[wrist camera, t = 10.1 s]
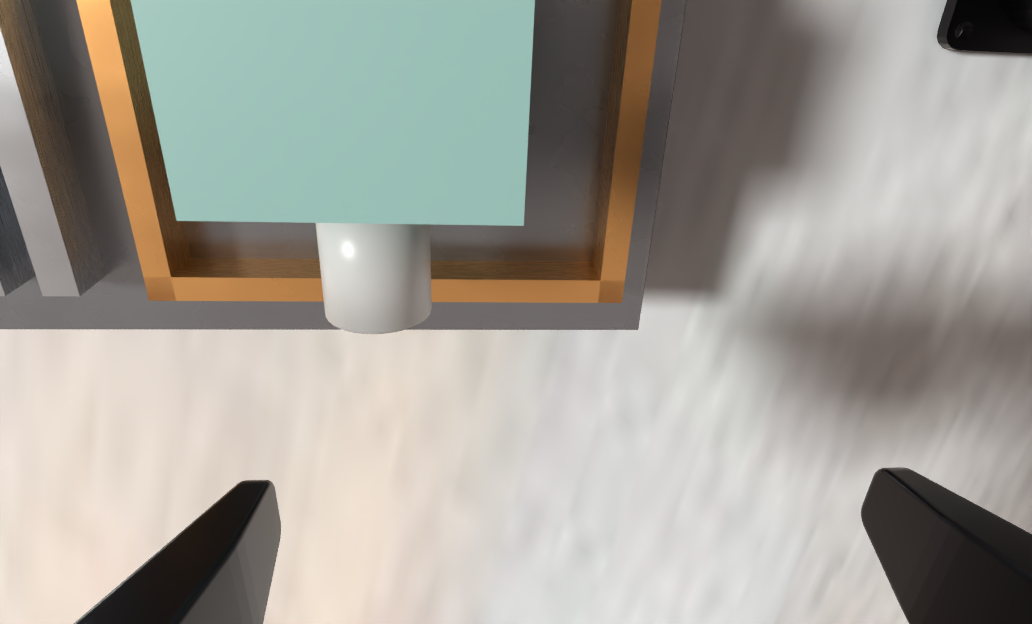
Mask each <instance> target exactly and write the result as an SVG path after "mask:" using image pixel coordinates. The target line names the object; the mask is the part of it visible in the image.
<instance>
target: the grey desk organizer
mask: <svg viewBox="0 0 1032 624" xmlns="http://www.w3.org/2000/svg"><path fill="white" fill-rule="evenodd" d="M685 7H686V0H535V8H534V28H533V49H532V69H531V89H530V109H529V130H528V150H527V170H526V191H525V211H524V226H502V225H433V224H430V252H431V300H432V310H431V313H430V315H429V316H428V317H427V318H426V319H425V320H424V321H423V322H421V323H420V324H418V325H416V326H414V327H411V328H408V329H430V330H638V326H639V320H640V313H641V306H642V299H643V293H644V286H645V279H646V272H647V265H648V259H649V252H650V245H651V238H652V231H653V225H654V218H655V211H656V204H657V197H658V191H659V184H660V177H661V170H662V163H663V157H664V150H665V143H666V136H667V129H668V123H669V116H670V109H671V102H672V95H673V89H674V82H675V75H676V68H677V62H678V55H679V48H680V41H681V34H682V28H683V21H684V14H685ZM0 329H340V328H338V327H336V326H334V325H332V324H331V323H330V322H329V321H328V320H327V318H326V316H325V308H324V298H323V289H322V280H321V270H320V261H319V251H318V242H317V232H316V223H294V222H224V221H177V220H176V216H175V211H174V206H173V201H172V197H171V192H170V187H169V182H168V177H167V173H166V168H165V163H164V158H163V154H162V149H161V144H160V139H159V134H158V130H157V125H156V120H155V115H154V111H153V106H152V101H151V96H150V91H149V87H148V82H147V77H146V72H145V67H144V63H143V58H142V53H141V48H140V44H139V39H138V34H137V29H136V24H135V20H134V15H133V10H132V5H131V1H130V0H0Z"/></svg>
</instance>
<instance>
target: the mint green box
mask: <svg viewBox="0 0 1032 624" xmlns="http://www.w3.org/2000/svg"><path fill="white" fill-rule="evenodd" d="M130 1H131V5H132V10H133V15H134V20H135V24H136V29H137V34H138V39H139V44H140V48H141V53H142V58H143V63H144V67H145V72H146V77H147V82H148V87H149V91H150V96H151V101H152V106H153V111H154V115H155V120H156V125H157V130H158V134H159V139H160V144H161V149H162V154H163V158H164V163H165V168H166V173H167V177H168V182H169V187H170V192H171V197H172V201H173V206H174V211H175V216H176V220H177V221H224V222H294V223H316V232H317V242H318V251H319V261H320V270H321V280H322V289H323V298H324V308H325V316H326V318H327V320H328V321H329V322H330V323H331V324H332V325H334V326H336V327H338V328H340V329H343V330H345V331H349V332H354V333H362V334H384V333H392V332H397V331H402V330H405V329H408V328H411V327H414V326H416V325H418V324H420V323H421V322H423V321H424V320H425V319H426V318H427V317H428V316H429V315H430V313H431V310H432V300H431V252H430V224H433V225H502V226H524V211H525V191H526V170H527V150H528V130H529V109H530V89H531V69H532V49H533V28H534V8H535V0H130Z"/></svg>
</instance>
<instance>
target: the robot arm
mask: <svg viewBox="0 0 1032 624" xmlns="http://www.w3.org/2000/svg"><path fill="white" fill-rule="evenodd" d="M961 23H962V24H963V31H962V33H961V35H960V36H959V37H958V38H956V36H955V32H956V29H957V27H958V26H959V25H960V24H961ZM937 39H938V43H939V44H940V45H941V46H942V47H943V48H946V49H952V50H966V51H989V52H1013V53H1032V0H947V3H946V6H945V9H944V12H943V15H942V19H941V22H940V25H939V28H938V33H937ZM861 517H862V522H863V525H864V527H865V530H866V532H867V534H868V536H869V538H870V541H871V543H872V545H873V547H874V549H875V551H876V554H877V556H878V558H879V560H880V562H881V565H882V567H883V569H884V571H885V573H886V576H887V578H888V580H889V582H890V584H891V587H892V589H893V591H894V593H895V595H896V598H897V600H898V602H899V604H900V606H901V608H902V610H903V612H904V614H905V616H906V618H907V620H908V622H909V624H1032V534H1030V533H1028V532H1026V531H1025V530H1023V529H1021V528H1019V527H1017V526H1015V525H1013V524H1012V523H1010V522H1008V521H1006V520H1004V519H1002V518H1000V517H998V516H997V515H995V514H993V513H991V512H989V511H987V510H985V509H983V508H982V507H980V506H978V505H976V504H974V503H972V502H970V501H969V500H967V499H965V498H963V497H961V496H959V495H957V494H955V493H954V492H952V491H950V490H948V489H946V488H944V487H942V486H941V485H939V484H937V483H935V482H933V481H931V480H929V479H927V478H926V477H924V476H922V475H920V474H918V473H916V472H914V471H912V470H910V469H908V468H882V469H879V470H878V471H877V472H876V473H875V474H874V476H873V479H872V482H871V484H870V487H869V489H868V492H867V495H866V497H865V500H864V502H863V505H862V509H861ZM280 535H281V522H280V516H279V510H278V504H277V498H276V492H275V487H274V485H273V483H272V482H271V481H269V480H246V481H242V482H240V483H238V484H237V485H236V486H235V487H233V488H232V489H231V490H230V491H229V492H227V493H226V494H225V495H224V496H223V497H222V498H220V499H219V500H218V501H217V502H216V503H215V504H213V505H212V506H211V507H210V508H209V509H208V510H206V511H205V512H204V513H203V514H202V515H201V516H199V517H198V518H197V519H196V520H195V521H194V522H192V523H191V524H190V525H189V526H188V527H186V528H185V529H184V530H183V531H182V532H181V533H179V534H178V535H177V536H176V537H175V538H174V539H172V540H171V541H170V542H169V543H168V544H167V545H165V546H164V547H163V548H162V549H161V550H160V551H158V552H157V553H156V554H155V555H154V556H153V557H151V558H150V559H149V560H148V561H147V562H145V563H144V564H143V565H142V566H141V567H140V568H138V569H137V570H136V571H135V572H134V573H133V574H131V575H130V576H129V577H128V578H127V579H126V580H124V581H123V582H122V583H121V584H120V585H119V586H117V587H116V588H115V589H114V590H113V591H112V592H110V593H109V594H108V595H107V596H106V597H105V598H103V599H102V600H101V601H100V602H99V603H97V604H96V605H95V606H94V607H93V608H92V609H90V610H89V611H88V612H87V613H86V614H85V615H83V616H82V617H81V618H80V619H79V620H78V621H76V622H75V623H74V624H263V620H264V615H265V611H266V606H267V601H268V596H269V591H270V586H271V581H272V576H273V572H274V567H275V562H276V557H277V552H278V547H279V542H280Z"/></svg>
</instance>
